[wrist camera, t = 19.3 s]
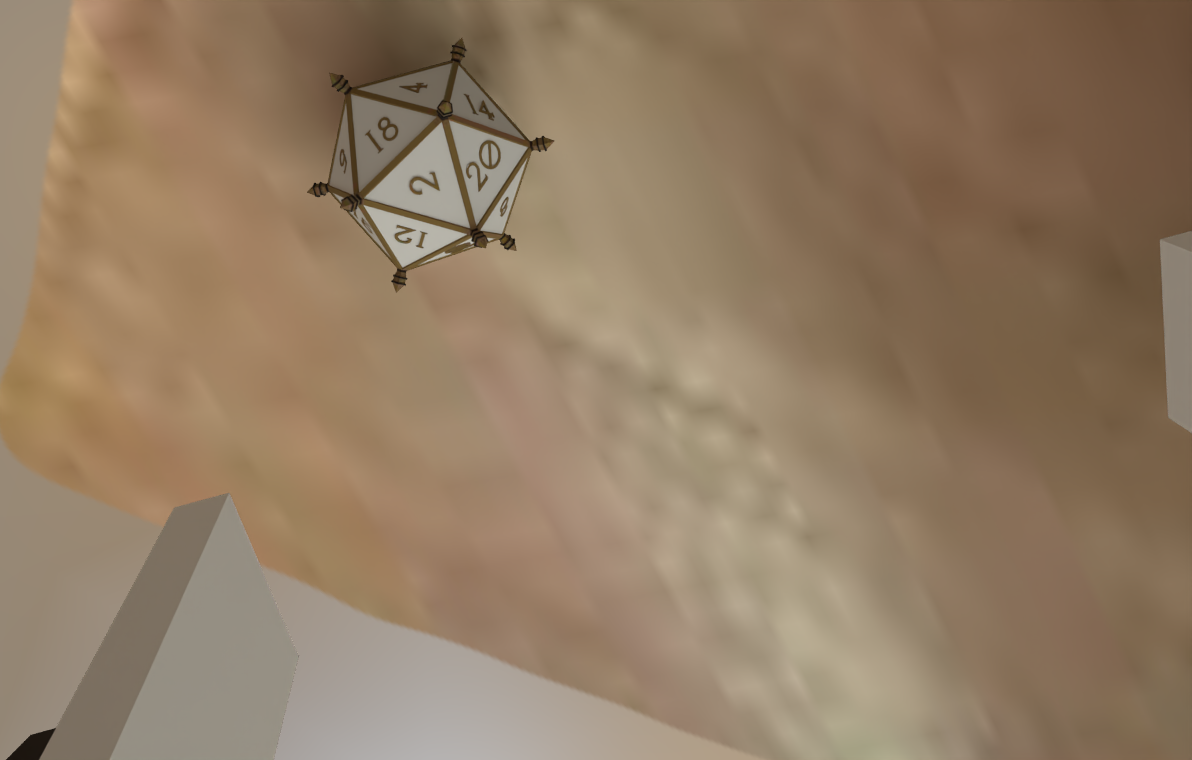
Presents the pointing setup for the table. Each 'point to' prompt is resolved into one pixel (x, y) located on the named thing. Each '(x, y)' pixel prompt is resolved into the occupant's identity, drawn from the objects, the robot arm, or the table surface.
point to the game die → (427, 164)
